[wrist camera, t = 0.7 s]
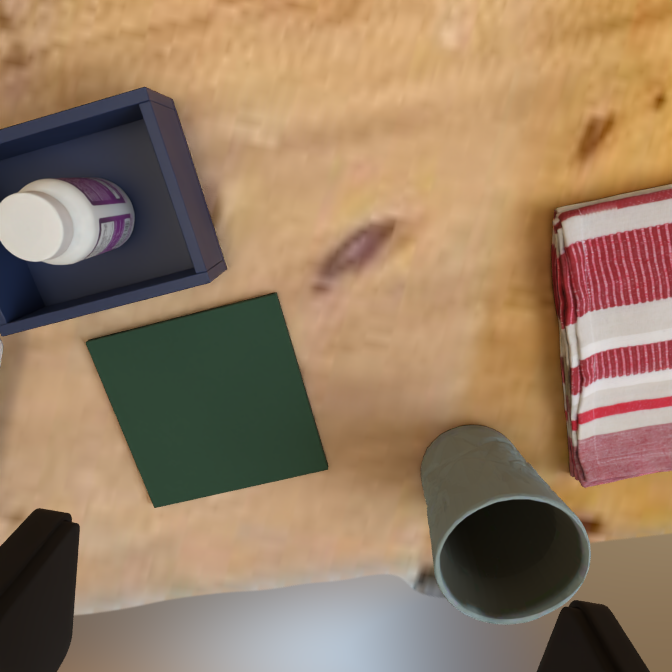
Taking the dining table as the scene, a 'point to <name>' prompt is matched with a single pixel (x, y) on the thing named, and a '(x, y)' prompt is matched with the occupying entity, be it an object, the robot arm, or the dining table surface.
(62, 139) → the basket
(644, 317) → the dish towel
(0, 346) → the square plate
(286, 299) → the dining table surface
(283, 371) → the mat
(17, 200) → the pill bottle
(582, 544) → the gray cup
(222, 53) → the dining table surface
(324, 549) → the dining table surface
